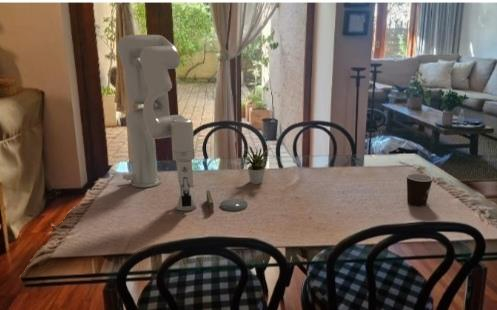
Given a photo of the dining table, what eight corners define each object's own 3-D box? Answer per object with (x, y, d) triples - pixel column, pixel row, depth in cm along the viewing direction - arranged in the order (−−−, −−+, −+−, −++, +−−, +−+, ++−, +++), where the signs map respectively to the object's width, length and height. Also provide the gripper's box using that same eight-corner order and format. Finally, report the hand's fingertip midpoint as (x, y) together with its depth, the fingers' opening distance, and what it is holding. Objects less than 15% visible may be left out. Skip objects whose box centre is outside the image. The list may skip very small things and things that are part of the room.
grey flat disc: (222, 212, 149) (221, 210, 149) (218, 201, 158) (218, 200, 158) (249, 209, 151) (249, 208, 150) (244, 199, 160) (244, 197, 160)
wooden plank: (210, 213, 148) (209, 202, 147) (206, 200, 159) (206, 190, 158) (213, 213, 148) (213, 202, 147) (210, 200, 160) (209, 190, 158)
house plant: (230, 185, 175) (229, 147, 170) (243, 174, 187) (243, 138, 182) (263, 189, 170) (263, 150, 165) (274, 178, 182) (274, 141, 177)
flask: (192, 212, 149) (191, 185, 146) (173, 211, 150) (171, 184, 148) (199, 204, 156) (197, 178, 153) (180, 203, 157) (178, 177, 154)
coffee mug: (417, 209, 149) (420, 182, 146) (399, 201, 156) (401, 175, 154) (440, 203, 154) (443, 177, 151) (421, 195, 162) (424, 170, 159)
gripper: (196, 160, 140) (198, 210, 145) (192, 147, 156) (194, 192, 161) (173, 162, 139) (176, 212, 144) (171, 148, 155) (174, 193, 160)
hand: (186, 201), depth 152 cm, fingers open, 7 cm apart
